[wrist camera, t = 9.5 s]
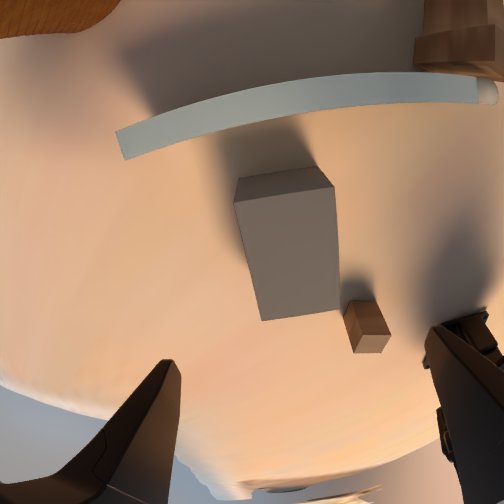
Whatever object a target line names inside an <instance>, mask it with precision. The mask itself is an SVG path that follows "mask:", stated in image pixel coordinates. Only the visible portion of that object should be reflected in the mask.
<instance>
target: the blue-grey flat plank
mask: <svg viewBox="0 0 504 504" xmlns="http://www.w3.org/2000/svg"><path fill="white" fill-rule="evenodd" d="M497 100H498V89H497V86H496V84H495V83H494V82H493V81H492V80H491V79H488V78H477V77H473V76H465V75H455V74H443V73H425V72H373V73H355V74H342V75H332V76H323V77H314V78H307V79H300V80H293V81H287V82H281V83H276V84H270V85H265V86H260V87H255V88H251V89H246V90H242V91H238V92H234V93H229V94H225V95H222V96H218V97H214V98H210V99H207V100H203V101H200V102H197V103H193V104H190V105H187V106H184V107H180V108H177V109H174V110H171V111H168V112H165V113H163V114H160V115H157V116H154V117H151V118H149V119H146V120H143V121H141V122H138V123H136V124H133V125H131V126H128V127H126V128H123V129H121V130H119V131H116V135H117V138H118V142H119V145H120V148H121V151H122V154H123V157H124V160H128V159H131V158H134V157H136V156H139V155H142V154H145V153H148V152H150V151H153V150H156V149H159V148H162V147H165V146H169V145H172V144H175V143H178V142H181V141H185V140H188V139H191V138H195V137H198V136H202V135H205V134H209V133H213V132H217V131H220V130H224V129H228V128H232V127H237V126H241V125H245V124H250V123H254V122H259V121H263V120H268V119H273V118H278V117H284V116H289V115H295V114H301V113H307V112H314V111H320V110H328V109H335V108H344V107H353V106H363V105H375V104H390V103H413V102H453V103H475V104H479V103H483V104H488V105H494V104H496V102H497Z"/></svg>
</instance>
